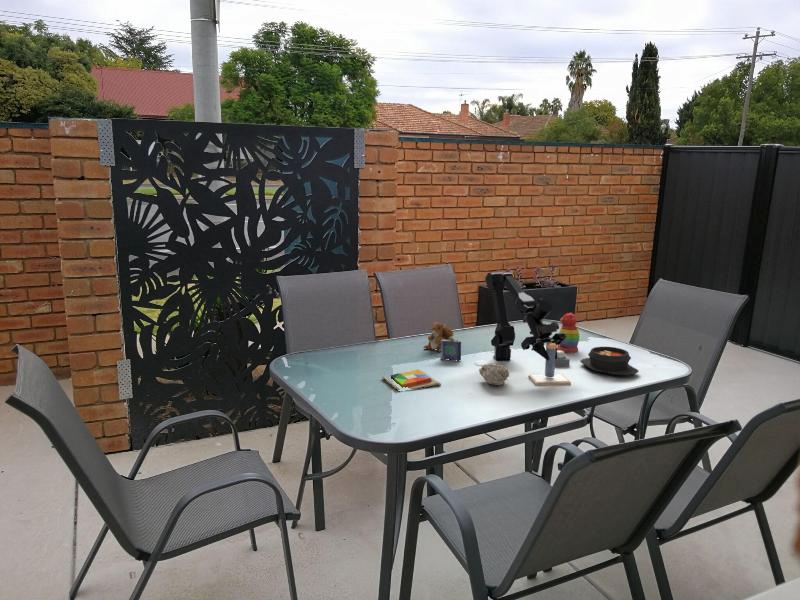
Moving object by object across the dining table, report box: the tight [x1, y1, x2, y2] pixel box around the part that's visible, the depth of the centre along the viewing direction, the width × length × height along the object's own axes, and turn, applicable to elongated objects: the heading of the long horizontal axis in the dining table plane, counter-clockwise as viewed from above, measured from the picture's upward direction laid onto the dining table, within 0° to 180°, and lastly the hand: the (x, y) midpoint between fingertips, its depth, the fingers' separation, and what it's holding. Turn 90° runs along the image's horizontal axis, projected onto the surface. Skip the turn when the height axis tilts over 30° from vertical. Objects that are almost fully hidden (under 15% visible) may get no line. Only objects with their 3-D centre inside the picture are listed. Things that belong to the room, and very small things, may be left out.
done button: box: [557, 350, 565, 359], centre depth 259 cm, size 4×4×4 cm
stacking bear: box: [557, 311, 580, 354], centre depth 280 cm, size 11×10×18 cm
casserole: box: [579, 346, 639, 376], centre depth 251 cm, size 25×19×8 cm
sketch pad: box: [528, 373, 572, 386], centre depth 238 cm, size 14×10×1 cm
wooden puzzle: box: [381, 368, 442, 391], centre depth 236 cm, size 18×19×4 cm
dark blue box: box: [440, 335, 462, 362], centre depth 265 cm, size 9×3×11 cm, turn 71°
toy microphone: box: [544, 343, 556, 377], centre depth 236 cm, size 4×4×13 cm
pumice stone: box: [478, 363, 510, 386], centre depth 233 cm, size 14×12×8 cm
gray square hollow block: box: [555, 354, 571, 367], centre depth 260 cm, size 7×7×3 cm
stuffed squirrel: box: [423, 321, 454, 352], centre depth 283 cm, size 10×14×13 cm
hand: (552, 359), depth 235 cm, fingers closed on toy microphone, 4 cm apart
